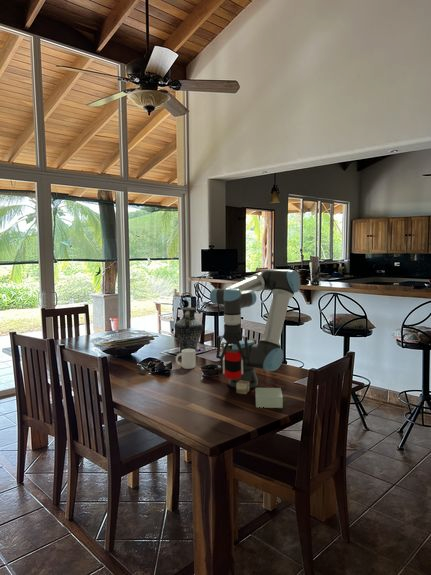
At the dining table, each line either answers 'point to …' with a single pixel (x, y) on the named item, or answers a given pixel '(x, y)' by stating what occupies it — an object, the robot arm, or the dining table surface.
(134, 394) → the dining table surface
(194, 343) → the jug
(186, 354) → the mug
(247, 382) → the maple cube
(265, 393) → the green block
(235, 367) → the soda can
